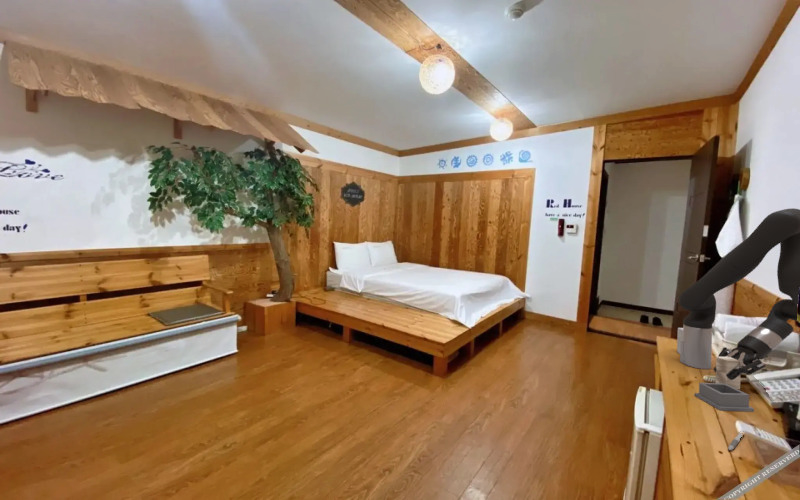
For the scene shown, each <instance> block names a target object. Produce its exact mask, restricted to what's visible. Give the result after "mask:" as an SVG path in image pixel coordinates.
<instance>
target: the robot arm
mask: <svg viewBox="0 0 800 500" xmlns="http://www.w3.org/2000/svg"><path fill="white" fill-rule="evenodd" d="M778 245H780V248H779V249H780V250H779V251H780V253H779V257H778V262H777V268H776V269H777V270H776V272H777V275H776V276H777V283H778V290H779V292H780V293H782V294H784V295H786V296H789V297H790V298H784V299H781V300H778V301H777V302H775V303H774V305H773V306H772V307H771V309H770V311H769V313H768V314H767V317H766V319H765V320H763V321H762V322H761V323H760V324H759V325H758V326H756V327H755V328H754V329H752V330H751V331H750V332H748V333H747V334H746V335H745V336H743V338H741V339H740V340H739V341H738V342H737V346H736V347H733V348H732V349H729V348H727V347H723V348H722V349H721V351H720V353H719V354H718V355H717V357H731V358H734V359H736V360H738V361H739V362H738V365H737V366H736V367H735V369H732V370H731V371H730V372H729V373H728V374H726V376H727V377H728V378H729V379H730V380H733V379H735V378H736V377H738V376H739V375H740V374H741V375H744V374H745V375H747V376H748V375H749V376H750V375H753V374H754V373H756V372H758V371H760V370H761V369H763V368H766V364H765V363H763V361H762V360H763V359H765V358H766V357H767V356H768V355H769V354H771V353H772V352H773V351H774V350H776V348H778V347H779V346H780V345H781V343H782V342H783V341H784V340H785V339H786V338H787V337H788V336H791V334H793V332H794V327H793V326H792V324H790V323H789V322H788V321H789V320H791V321H796V322H798V321H797V304H798V295H799V287H800V209H799V208H785V209H780V210H777V211H774V212H771V213H770V214H768V215H767V216H766V217H765V218H764V219H763V220H762V221H761V222H760V224H758V226H757V227H756V228H755V229H754V230H753V232H751V234H750V235H749V236H748V237H746V239H744V240H743V241H742V242H740V243H739V244H737V245H736V246H735V247H734V248H733V249H732V250H730V251H729V252H728V253H727V254H725V256H724V257H722V258H721V259H720V260H719V261H718V262H716V264H715V265H714V266H713V267H711V269H709V270H708V271H707V273H705V274H704V275H703V276H702V277H701V278H700V279H699V280H696V282H695V283H693V284H692V285H690V286H689V287H688V288H687V289H685V290H683V292H682V293H681V294H680V295H679V299H678V303H679V306H680V307H681V308H682V309H684V310H686V311H690V312H689V314H688V315H687V316H685V317H684V318H683V323H682V324H683V326H682V328H683V341H681V345H680V354H679V355H680V356H679V357H680V358H679V361H680V363H682V364H684V365H686V366H688V367H692V368H696V369H700V370H701V369H702V370H709V369H710V370H711V368H712V353H713V351H712V350H713V349H712V348H713V347H712V345H713V343H712V342H713V341H712V340H713V334H712V333H713V324H714V322H715V320H716V313H717V299H716V297H715V294H716V293H718V292H719V291H722V290H724V289H725V288H729V286H732V285H735V284H736V283H738V282H740V281H742V280H743V279H744V278H746V277H747V276H749V274H751V273H752V272H753V271H754V270H755V269H756V268H758V267H759V265H760V264H761V262H763V260H764V259H765V257H766V256H767V254H768V253H769V252H770V251H771V250H772V249H774V248H775V247H776V246H778ZM713 371H714V372H715V373H716V366H714V368H713Z"/></svg>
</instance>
